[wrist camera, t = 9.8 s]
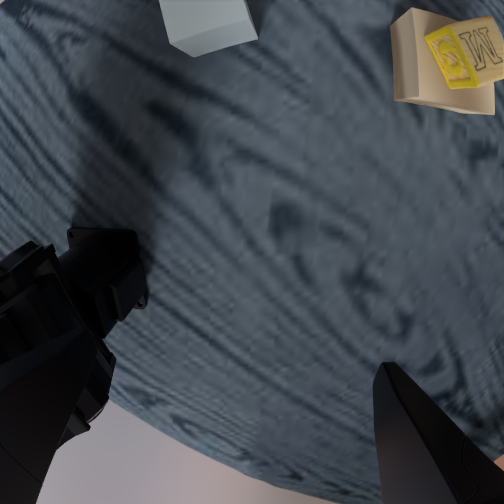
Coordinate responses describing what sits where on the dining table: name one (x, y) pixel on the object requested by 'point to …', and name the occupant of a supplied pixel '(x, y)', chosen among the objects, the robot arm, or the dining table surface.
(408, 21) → the beech block
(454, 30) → the alphabet block
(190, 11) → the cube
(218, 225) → the dining table surface
